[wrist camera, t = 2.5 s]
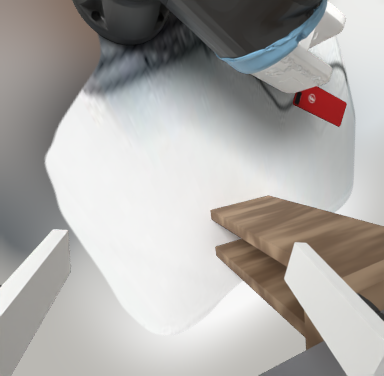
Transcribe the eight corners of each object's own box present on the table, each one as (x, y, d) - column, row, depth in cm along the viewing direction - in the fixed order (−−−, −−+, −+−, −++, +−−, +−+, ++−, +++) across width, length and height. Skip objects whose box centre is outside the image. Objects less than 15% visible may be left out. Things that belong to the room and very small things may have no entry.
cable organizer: (301, 49, 50) (355, 21, 39) (285, 98, 50) (334, 84, 40) (243, 10, 44) (287, -35, 34) (225, 66, 45) (264, 38, 34)
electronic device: (345, 103, 57) (298, 77, 51) (347, 103, 56) (300, 77, 51) (338, 127, 57) (291, 104, 51) (340, 127, 56) (293, 103, 51)
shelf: (192, 214, 47) (322, 308, 19) (275, 193, 53) (467, 240, 25) (198, 261, 49) (326, 408, 21) (278, 235, 55) (459, 322, 27)
